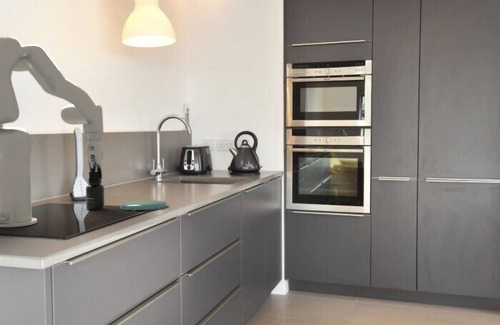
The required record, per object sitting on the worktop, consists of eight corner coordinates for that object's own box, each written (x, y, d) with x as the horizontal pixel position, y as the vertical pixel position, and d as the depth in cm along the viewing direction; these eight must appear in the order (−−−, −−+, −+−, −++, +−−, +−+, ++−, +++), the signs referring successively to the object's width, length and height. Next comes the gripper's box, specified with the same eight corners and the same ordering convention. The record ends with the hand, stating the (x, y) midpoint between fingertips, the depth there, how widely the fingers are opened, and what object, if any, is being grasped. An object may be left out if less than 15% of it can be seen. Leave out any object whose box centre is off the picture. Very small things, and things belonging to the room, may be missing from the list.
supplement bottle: (85, 210, 192) (84, 179, 191) (86, 208, 199) (85, 177, 198) (104, 209, 194) (103, 178, 193) (104, 207, 200) (103, 177, 200)
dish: (150, 211, 187) (150, 207, 187) (110, 209, 194) (110, 205, 194) (175, 205, 204) (175, 201, 204) (137, 203, 210) (137, 199, 210)
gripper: (100, 137, 187) (102, 183, 188) (106, 136, 204) (108, 178, 205) (79, 138, 186) (82, 184, 187) (87, 136, 203) (89, 178, 204)
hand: (95, 180), depth 196 cm, fingers open, 9 cm apart
